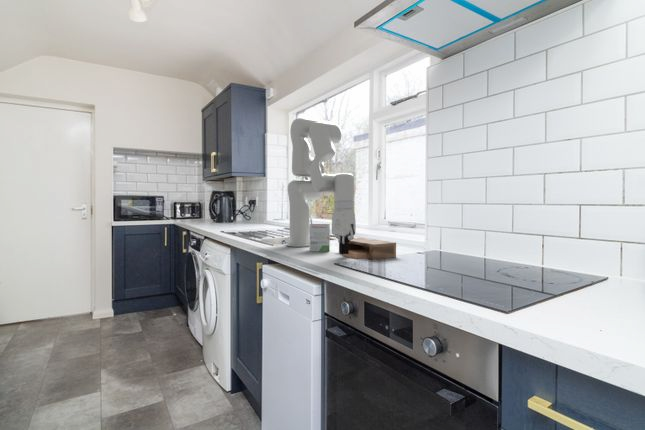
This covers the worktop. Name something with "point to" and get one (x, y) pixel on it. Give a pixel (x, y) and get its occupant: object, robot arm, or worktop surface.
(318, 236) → the ink box
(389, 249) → the shelf
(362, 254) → the tile
